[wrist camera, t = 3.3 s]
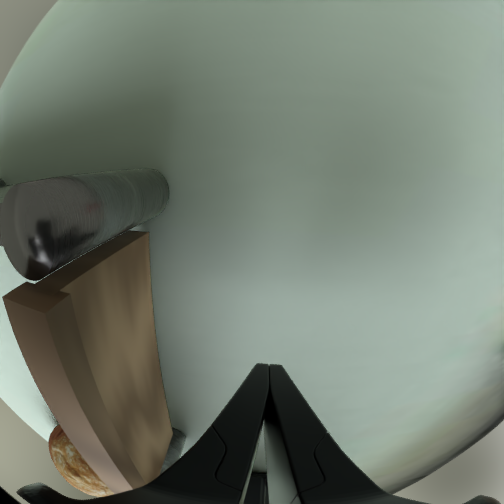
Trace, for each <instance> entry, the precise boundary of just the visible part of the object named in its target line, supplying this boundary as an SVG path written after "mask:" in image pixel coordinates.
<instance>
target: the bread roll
mask: <svg viewBox="0 0 504 504" xmlns="http://www.w3.org/2000/svg"><path fill="white" fill-rule="evenodd" d="M49 451H50V455H51V458H52V460H53V462H54V464H55V466H56V468H57V469H58V471H59V472H60V473H61V475H62V476H63V477H64V478H65V479H66V481H68V482H69V483H70V484H71V485H72V486H74V487H76V488H77V489H79V490H81V491H83V492H85V493H86V494H90V495H93V496H98V497H104V496H109V495H113V494H114V493H113V492H112V491H111V490H110V489H109V487H108V486H107V485H106V484H105V483H104V482H103V481H102V480H101V479H100V478H99V476H98V475H97V474H96V473H95V472H94V471H93V469H92V468H91V467H90V466H89V465H88V463H87V462H86V461H85V460H84V458H83V457H82V456H81V454H80V453H79V452H78V450H77V449H76V448H75V446H74V445H73V444H72V442H71V441H70V439H69V438H68V437H67V435H66V434H65V432H64V431H63V429H62V428H61V426H60V425H58V426H56V427H55V428H54V430H53V431H52V433H51V434H50V438H49Z"/></svg>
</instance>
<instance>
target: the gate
mask: <svg viewBox="0 0 504 504" xmlns="http://www.w3.org/2000/svg"><path fill="white" fill-rule="evenodd" d="M2 298H3V301H4V305H5V308H6V311H7V314H8V317H9V321H10V323H11V326H12V329H13V332H14V335H15V337H16V340H17V343H18V345H19V348H20V350H21V352H22V355H23V357H24V359H25V362H26V364H27V366H28V368H29V370H30V373H31V375H32V377H33V379H34V381H35V383H36V385H37V387H38V389H39V390H40V392H41V394H42V396H43V398H44V400H45V401H46V403H47V405H48V407H49V408H50V410H51V412H52V413H53V415H54V417H55V418H56V420H57V421H58V423H59V425H60V426H61V428H62V429H63V431H64V432H65V434H66V435H67V437H68V438H69V439H70V441H71V442H72V444H73V445H74V446H75V448H76V449H77V450H78V452H79V453H80V454H81V456H82V457H83V458H84V460H85V461H86V462H87V463H88V465H89V466H90V467H91V468H92V469H93V471H94V472H95V473H96V474H97V475H98V476H99V478H100V479H101V480H102V481H103V482H104V483H105V484H106V485H107V486H108V487H109V489H110V490H111V491H112V492H113V493H114V494H117V493H121V492H125V491H129V490H132V489H136V488H139V487H141V486H144V485H146V484H147V483H149V482H151V481H152V480H154V479H155V478H156V477H158V476H159V474H160V471H161V468H162V465H163V462H164V459H165V456H166V453H167V450H168V447H169V444H170V441H171V438H172V435H173V431H172V427H171V422H170V418H169V413H168V408H167V403H166V398H165V393H164V387H163V381H162V375H161V369H160V363H159V356H158V349H157V341H156V333H155V324H154V314H153V303H152V290H151V275H150V253H149V232H141V231H130V230H128V231H126V232H124V233H122V234H121V235H119V236H117V237H115V238H113V239H111V240H109V241H107V242H106V243H104V244H102V245H100V246H98V247H96V248H95V249H93V250H91V251H89V252H87V253H86V254H84V255H82V256H80V257H79V258H77V259H75V260H73V261H72V262H70V263H68V264H67V265H65V266H63V267H62V268H60V269H58V270H57V271H55V272H53V273H52V274H50V275H48V276H47V277H45V278H44V279H42V280H40V281H39V282H37V283H36V284H33V283H29V282H25V283H23V284H22V285H20V286H18V287H17V288H15V289H14V290H12V291H11V292H9V293H8V294H6V295H5V296H3V297H2Z"/></svg>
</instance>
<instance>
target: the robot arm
mask: <svg viewBox="0 0 504 504" xmlns="http://www.w3.org/2000/svg"><path fill="white" fill-rule="evenodd" d="M263 421H264V439H265V453H266V467H267V474H255V473H251V472H252V468H253V464H254V460H255V456H256V452H257V448H258V444H259V439H260V435H261V431H262V426H263ZM17 494H18V495H20V496H21V497H22V498H23V499H25V500H26V501H27V502H28V503H30V504H428V503H424V502H419V501H415V500H410V499H406V498H402V497H398V496H395V495H392V494H390V493H388V492H386V491H384V490H383V489H381V488H380V487H379V486H377V485H376V484H375V483H374V482H373V481H372V480H371V479H370V478H369V477H368V476H367V475H366V474H365V473H364V472H363V471H362V470H361V469H360V468H359V467H357V466H356V465H355V464H354V463H353V462H352V460H351V459H350V458H349V457H348V456H347V455H346V454H345V453H344V452H343V451H342V450H341V448H340V447H339V446H338V444H337V443H336V442H335V441H334V439H333V438H332V437H331V435H330V434H329V433H327V430H326V428H325V427H324V426H323V424H322V423H321V421H320V420H319V419H318V417H317V416H316V414H315V413H314V411H313V410H312V409H311V407H310V406H309V404H308V403H307V401H306V400H305V399H304V397H303V396H302V394H301V393H300V391H299V390H298V388H297V387H296V385H295V384H294V383H293V381H292V380H291V378H290V377H289V375H288V374H287V372H286V371H285V369H284V368H283V366H282V365H277V364H270V365H268V364H263V363H257V364H256V365H255V366H254V368H253V369H252V370H251V372H250V373H249V375H248V376H247V377H246V379H245V380H244V382H243V383H242V384H241V386H240V387H239V389H238V390H237V391H236V393H235V394H234V395H233V397H232V398H231V399H230V401H229V402H228V404H227V405H226V406H225V408H224V409H223V410H222V411H221V413H220V414H219V415H218V417H217V418H216V419H215V421H214V422H213V423H212V424H211V426H210V427H209V428H208V429H207V431H206V432H205V433H204V434H203V436H202V437H201V438H200V439H199V440H198V441H197V442H196V444H195V445H194V446H193V447H192V448H190V449H189V450H188V451H187V452H186V453H185V454H184V455H183V456H182V457H181V458H180V459H178V460H177V461H176V462H175V463H174V464H172V465H171V466H170V467H169V468H168V469H166V470H165V471H164V472H163V473H162V474H160V475H159V476H158V477H156V478H155V479H154V480H152V481H151V482H149V483H147V484H146V485H144V486H141V487H139V488H136V489H132V490H129V491H125V492H121V493H117V494H113V495H109V496H104V497H99V498H94V499H90V500H89V499H88V500H77V499H72V498H68V497H66V496H64V495H62V494H60V493H58V492H57V491H55V490H53V489H52V488H50V487H48V486H47V485H45V484H43V483H35V484H30V485H27V486H24V487H22V488H20V489H19V490H18V491H17ZM0 504H21V503H20V502H19V501H17V500H16V499H15V498H14V497H13V496H11V495H10V494H9V493H8V492H7V491H5V490H4V489H3V488H2V487H1V486H0ZM464 504H501V503H500V502H499V501H497V500H496V499H494V498H492V497H488V496H484V495H479V496H477V497H475V498H473V499H471V500H469V501H468V502H466V503H464Z"/></svg>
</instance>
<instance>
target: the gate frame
mask: <svg viewBox="0 0 504 504" xmlns="http://www.w3.org/2000/svg"><path fill="white" fill-rule="evenodd" d="M168 199H169V188H168V184H167V182H166V180H165V178H164V177H163V176H162V175H161V174H160V173H159V172H158V171H156V170H153V169H149V168H144V169H129V170H116V171H105V172H95V173H86V174H77V175H70V176H62V177H55V178H49V179H43V180H37V181H31V182H25V183H20V184H16V185H7V186H5V183H4V181H3V180H2V179H0V246H4V249H5V251H6V254H7V256H8V258H9V260H10V262H11V263H12V265H13V266H14V268H15V269H16V270H17V271H18V272H19V273H20V274H21V275H22V276H23V277H25V278H27V279H29V280H33V281H38V280H41V279H42V278H44V277H46V276H47V275H49V274H51V273H52V272H54V271H55V270H57V269H59V268H60V267H62V266H64V265H66V264H67V263H69V262H71V261H72V260H74V259H76V258H78V257H79V256H81V255H83V254H85V253H86V252H88V251H90V250H92V249H94V248H95V247H97V246H99V245H101V244H103V243H105V242H106V241H108V240H110V239H112V238H114V237H116V236H118V235H120V234H122V233H124V232H125V231H127V230H129V229H131V228H133V227H135V226H137V225H139V224H141V223H143V222H145V221H147V220H149V219H151V218H154V217H156V216H157V215H159V214H160V213H161V212H162V211H163V210H164V209H165V207H166V205H167V203H168ZM172 431H173V435H172V438H171V441H170V444H169V447H168V450H167V453H166V456H165V459H164V462H163V465H162V468H161V471H160V474H162V473H163V472H164V471H165V470H166V469H168V468H169V467H170V466H171V465H172V464H174V463H175V462H176V461H177V460H178V459H180V456H181V453H182V449H183V446H184V442H185V439H186V438H185V436H184V434H183V433H181V432H180V431H178V430H176V429H174V428H172ZM160 474H159V475H160Z"/></svg>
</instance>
